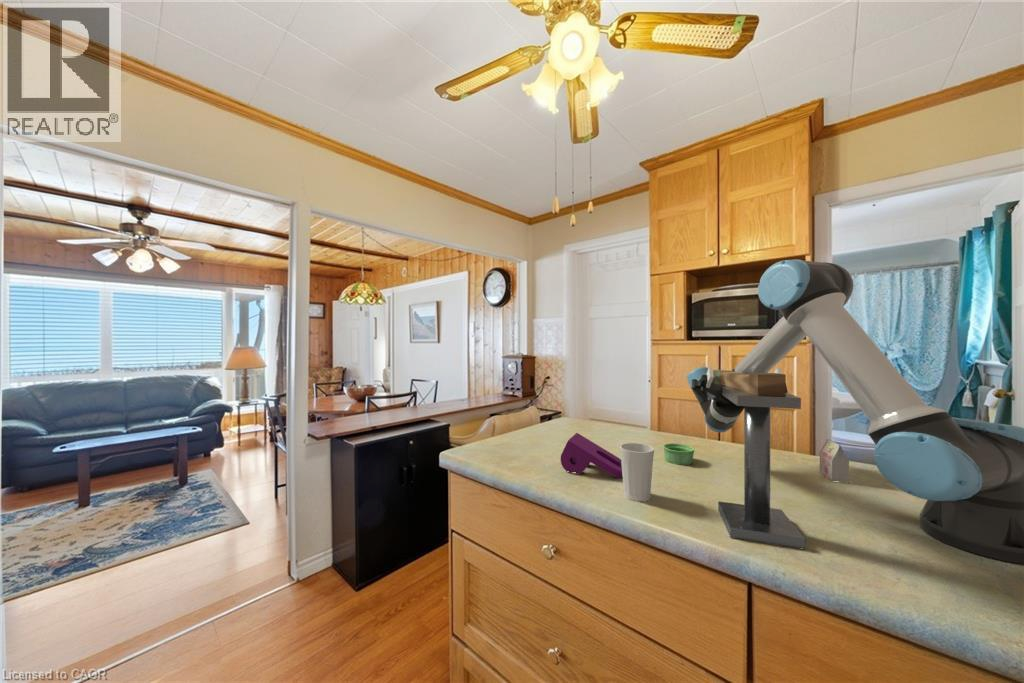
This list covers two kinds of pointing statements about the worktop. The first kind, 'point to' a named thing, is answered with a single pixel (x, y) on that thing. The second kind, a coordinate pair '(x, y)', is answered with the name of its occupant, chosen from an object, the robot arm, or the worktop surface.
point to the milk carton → (834, 462)
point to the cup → (637, 470)
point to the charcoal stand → (759, 475)
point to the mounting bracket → (588, 457)
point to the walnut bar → (752, 382)
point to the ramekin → (678, 453)
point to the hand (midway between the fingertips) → (744, 372)
